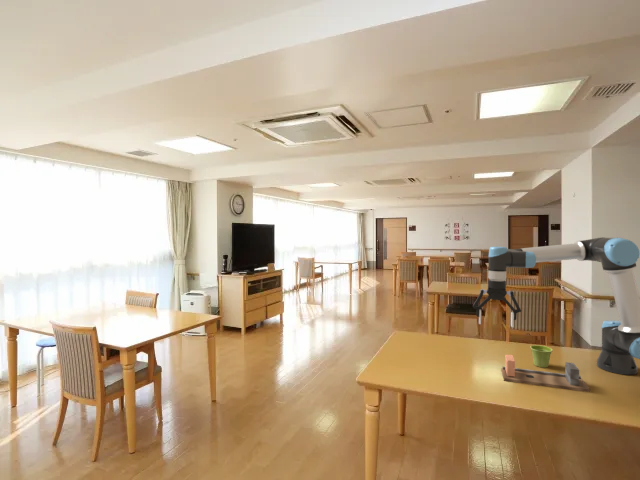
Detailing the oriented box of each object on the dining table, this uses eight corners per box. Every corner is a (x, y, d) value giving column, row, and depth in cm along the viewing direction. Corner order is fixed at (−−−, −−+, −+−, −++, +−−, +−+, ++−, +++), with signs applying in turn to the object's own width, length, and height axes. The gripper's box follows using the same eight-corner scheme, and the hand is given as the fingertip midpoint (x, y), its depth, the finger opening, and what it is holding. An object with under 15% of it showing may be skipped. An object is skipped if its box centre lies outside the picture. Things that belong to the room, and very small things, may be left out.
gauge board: (581, 380, 161) (581, 362, 161) (590, 392, 150) (590, 372, 150) (501, 370, 173) (501, 353, 172) (504, 380, 161) (504, 362, 161)
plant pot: (555, 369, 173) (556, 352, 173) (534, 368, 175) (534, 350, 175) (547, 362, 182) (547, 345, 182) (527, 361, 184) (527, 344, 184)
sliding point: (512, 370, 169) (512, 355, 169) (514, 376, 162) (515, 361, 161) (505, 369, 170) (505, 354, 170) (507, 375, 163) (507, 360, 162)
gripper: (526, 280, 167) (524, 325, 168) (467, 277, 176) (466, 320, 176) (529, 282, 160) (527, 330, 161) (468, 279, 169) (467, 324, 169)
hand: (495, 325), depth 169 cm, fingers open, 13 cm apart
